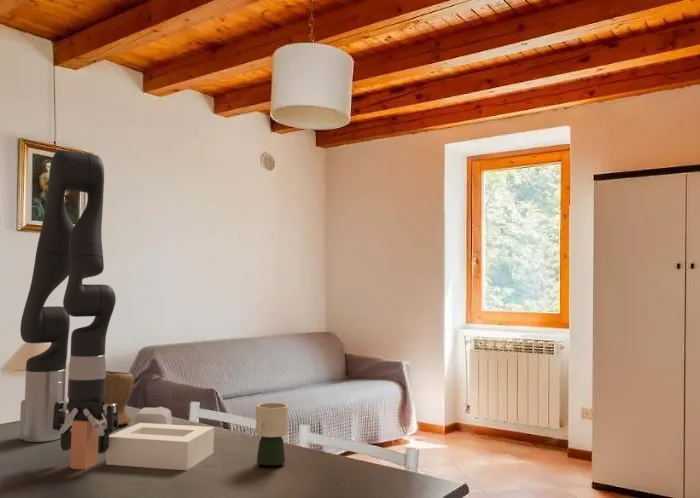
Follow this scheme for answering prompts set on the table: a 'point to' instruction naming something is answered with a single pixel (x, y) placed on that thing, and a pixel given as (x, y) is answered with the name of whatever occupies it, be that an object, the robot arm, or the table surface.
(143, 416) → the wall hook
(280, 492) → the table surface
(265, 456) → the character mug
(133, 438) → the well block
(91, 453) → the orange block
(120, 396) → the brown boot-shaped piece
